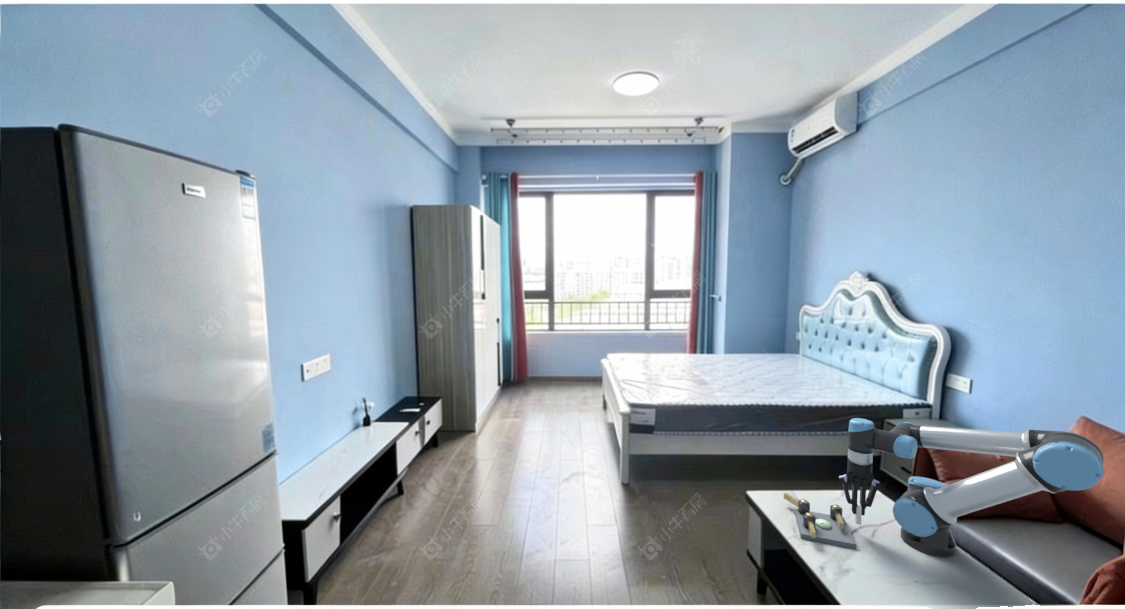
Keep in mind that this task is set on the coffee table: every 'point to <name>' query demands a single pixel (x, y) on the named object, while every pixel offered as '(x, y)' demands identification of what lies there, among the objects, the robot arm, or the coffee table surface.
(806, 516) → the knob
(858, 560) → the coffee table surface
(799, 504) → the knob
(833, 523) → the base plate
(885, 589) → the coffee table surface
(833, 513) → the knob
